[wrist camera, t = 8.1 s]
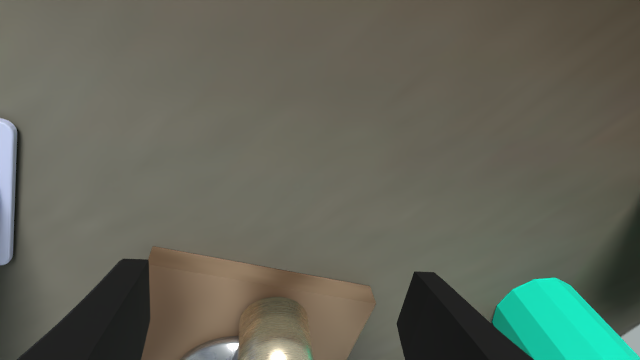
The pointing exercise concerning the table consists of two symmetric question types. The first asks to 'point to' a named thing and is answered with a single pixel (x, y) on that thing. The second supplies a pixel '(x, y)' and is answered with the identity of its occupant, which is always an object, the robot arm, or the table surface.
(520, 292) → the candle
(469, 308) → the robot arm
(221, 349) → the crank dial
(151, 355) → the stand
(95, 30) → the table surface
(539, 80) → the table surface
